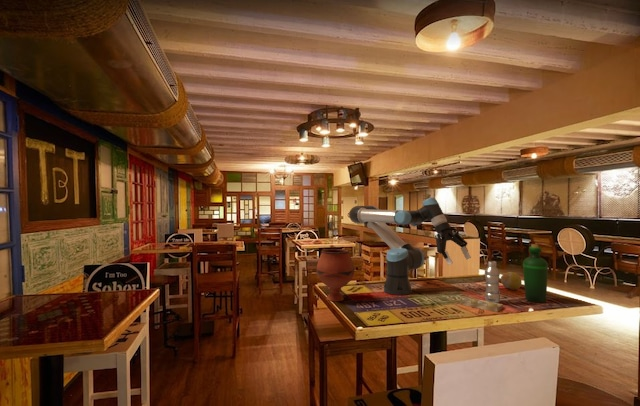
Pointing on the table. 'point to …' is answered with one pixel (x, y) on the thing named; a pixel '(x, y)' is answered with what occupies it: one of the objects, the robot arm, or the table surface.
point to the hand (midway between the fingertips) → (459, 261)
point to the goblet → (335, 271)
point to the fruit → (511, 280)
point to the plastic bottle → (492, 283)
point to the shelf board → (481, 304)
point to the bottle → (535, 275)
